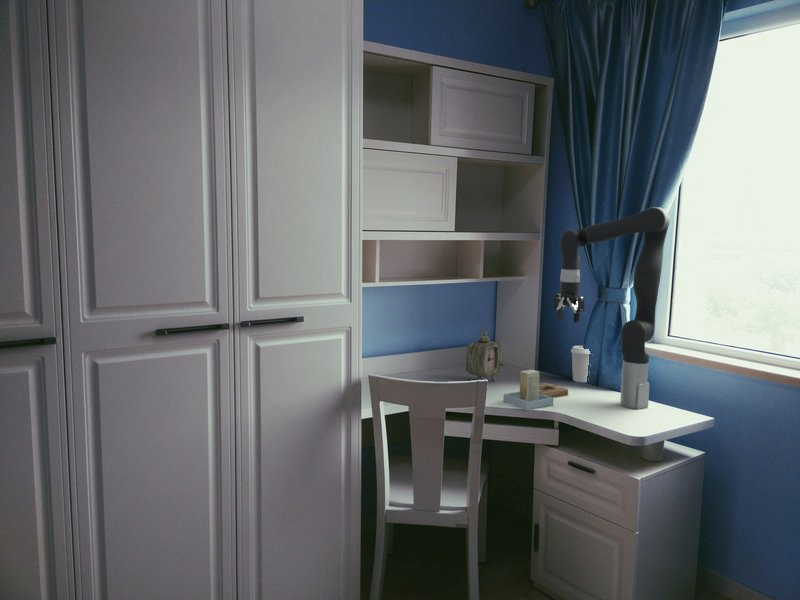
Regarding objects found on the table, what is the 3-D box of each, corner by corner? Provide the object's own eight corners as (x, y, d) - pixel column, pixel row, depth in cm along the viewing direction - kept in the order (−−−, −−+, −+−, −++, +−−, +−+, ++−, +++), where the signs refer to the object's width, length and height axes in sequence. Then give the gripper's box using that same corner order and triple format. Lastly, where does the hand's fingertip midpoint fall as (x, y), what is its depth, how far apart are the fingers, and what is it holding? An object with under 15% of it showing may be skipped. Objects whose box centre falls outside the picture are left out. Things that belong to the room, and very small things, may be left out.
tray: (553, 405, 235) (553, 398, 235) (526, 410, 229) (526, 402, 228) (529, 397, 247) (529, 390, 246) (503, 401, 240) (503, 393, 240)
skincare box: (531, 400, 241) (532, 369, 240) (539, 402, 237) (540, 371, 236) (518, 402, 238) (519, 370, 237) (525, 405, 234) (527, 373, 233)
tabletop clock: (481, 387, 262) (484, 328, 259) (463, 383, 267) (465, 325, 265) (499, 380, 273) (501, 324, 270) (481, 377, 279) (483, 322, 276)
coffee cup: (591, 379, 280) (593, 346, 278) (591, 384, 271) (593, 350, 269) (569, 377, 283) (571, 344, 281) (568, 381, 274) (570, 348, 272)
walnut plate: (567, 395, 251) (568, 389, 251) (541, 399, 244) (542, 393, 244) (546, 388, 261) (547, 382, 261) (521, 392, 254) (521, 386, 254)
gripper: (590, 281, 243) (588, 322, 245) (563, 279, 256) (561, 318, 257) (576, 282, 240) (574, 324, 241) (550, 279, 252) (548, 319, 254)
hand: (567, 320), depth 249 cm, fingers open, 8 cm apart
